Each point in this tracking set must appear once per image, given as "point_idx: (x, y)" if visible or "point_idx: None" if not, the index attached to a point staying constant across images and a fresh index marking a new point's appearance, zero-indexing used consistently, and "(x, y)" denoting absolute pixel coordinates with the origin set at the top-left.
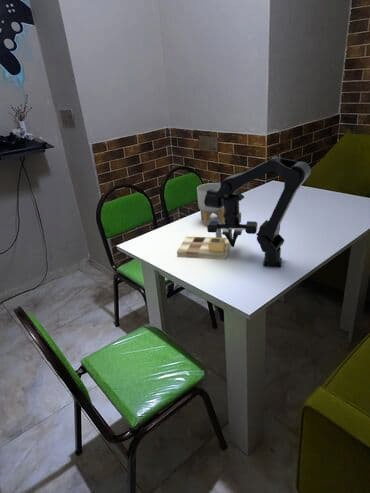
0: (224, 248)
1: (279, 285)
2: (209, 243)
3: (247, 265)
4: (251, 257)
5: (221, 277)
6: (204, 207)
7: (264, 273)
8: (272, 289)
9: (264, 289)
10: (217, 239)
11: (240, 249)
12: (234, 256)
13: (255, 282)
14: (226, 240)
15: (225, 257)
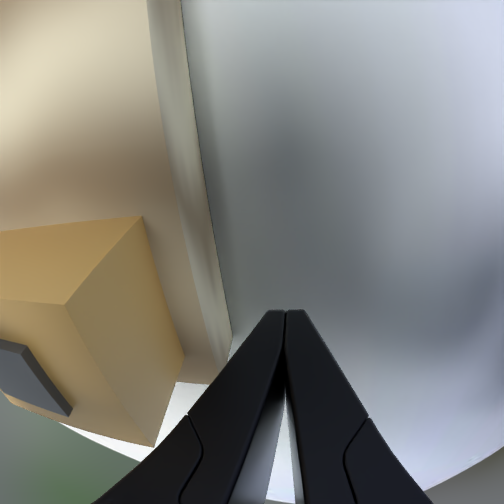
0: (165, 309)
1: (500, 441)
2: (23, 404)
3: (423, 383)
4: (476, 279)
5: (273, 462)
6: None
7: (487, 412)
8: (470, 460)
9: (446, 467)
10: (18, 372)
11: (357, 99)
12: (311, 285)
13: (427, 458)
14: (88, 28)
15: (229, 348)
